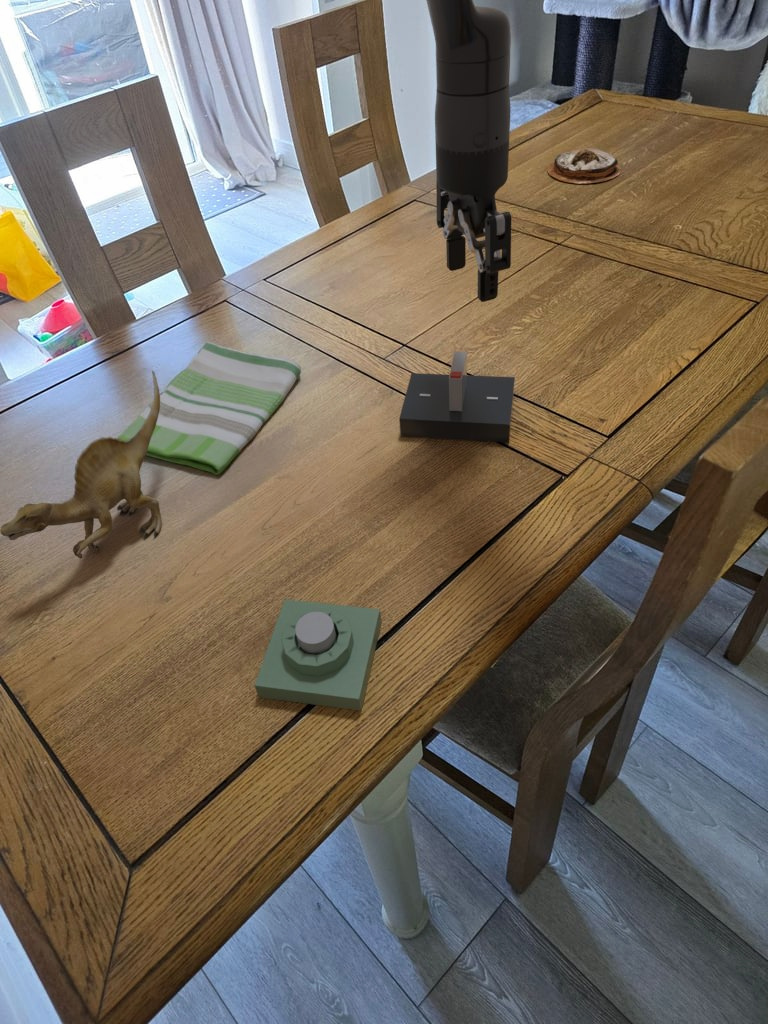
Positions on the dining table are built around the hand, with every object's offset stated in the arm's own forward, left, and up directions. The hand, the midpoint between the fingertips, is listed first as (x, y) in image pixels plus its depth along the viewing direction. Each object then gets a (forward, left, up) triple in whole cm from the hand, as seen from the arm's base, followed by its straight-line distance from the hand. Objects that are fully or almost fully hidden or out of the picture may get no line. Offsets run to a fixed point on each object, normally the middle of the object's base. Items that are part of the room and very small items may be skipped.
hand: (471, 283), depth 82 cm
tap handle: (+1, +3, -14) cm, 15 cm away
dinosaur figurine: (+37, +26, -18) cm, 49 cm away
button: (+10, +42, -14) cm, 46 cm away
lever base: (+1, +3, -17) cm, 18 cm away
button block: (+10, +42, -17) cm, 47 cm away
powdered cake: (-16, -81, -18) cm, 84 cm away
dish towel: (+35, +5, -18) cm, 40 cm away
